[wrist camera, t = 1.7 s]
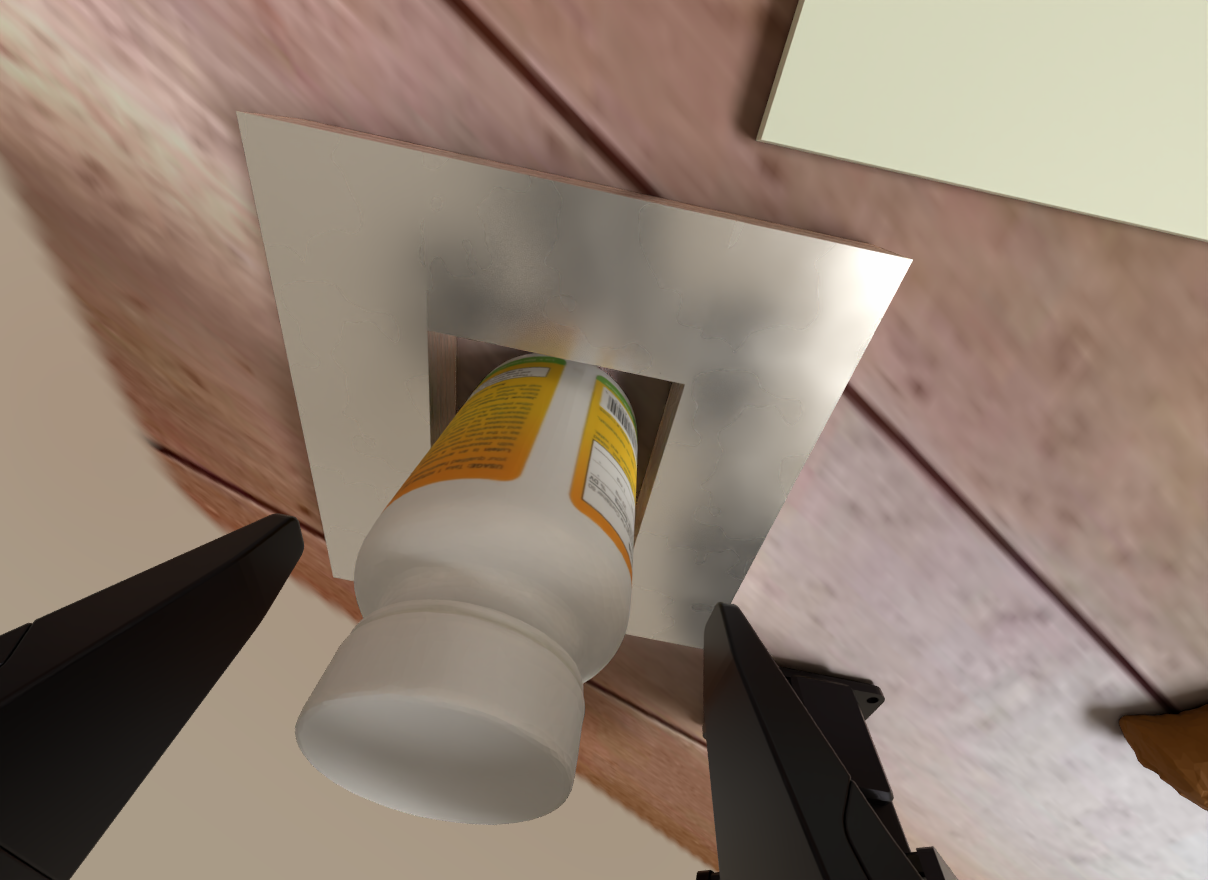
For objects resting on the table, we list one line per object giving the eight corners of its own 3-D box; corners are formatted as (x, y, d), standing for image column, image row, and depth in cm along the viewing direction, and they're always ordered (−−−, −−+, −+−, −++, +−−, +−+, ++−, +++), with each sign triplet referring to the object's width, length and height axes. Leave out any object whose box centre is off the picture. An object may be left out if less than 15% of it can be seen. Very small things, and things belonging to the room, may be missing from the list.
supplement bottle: (456, 456, 16) (237, 789, 7) (501, 316, 13) (231, 599, 5) (597, 513, 16) (545, 870, 8) (669, 393, 14) (698, 750, 5)
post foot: (701, 604, 18) (706, 649, 17) (363, 538, 18) (333, 577, 16) (871, 244, 11) (912, 259, 9) (301, 118, 11) (235, 111, 9)
